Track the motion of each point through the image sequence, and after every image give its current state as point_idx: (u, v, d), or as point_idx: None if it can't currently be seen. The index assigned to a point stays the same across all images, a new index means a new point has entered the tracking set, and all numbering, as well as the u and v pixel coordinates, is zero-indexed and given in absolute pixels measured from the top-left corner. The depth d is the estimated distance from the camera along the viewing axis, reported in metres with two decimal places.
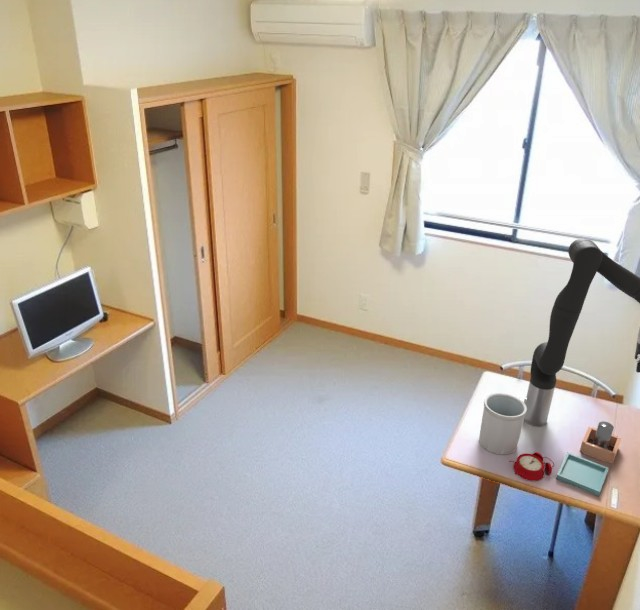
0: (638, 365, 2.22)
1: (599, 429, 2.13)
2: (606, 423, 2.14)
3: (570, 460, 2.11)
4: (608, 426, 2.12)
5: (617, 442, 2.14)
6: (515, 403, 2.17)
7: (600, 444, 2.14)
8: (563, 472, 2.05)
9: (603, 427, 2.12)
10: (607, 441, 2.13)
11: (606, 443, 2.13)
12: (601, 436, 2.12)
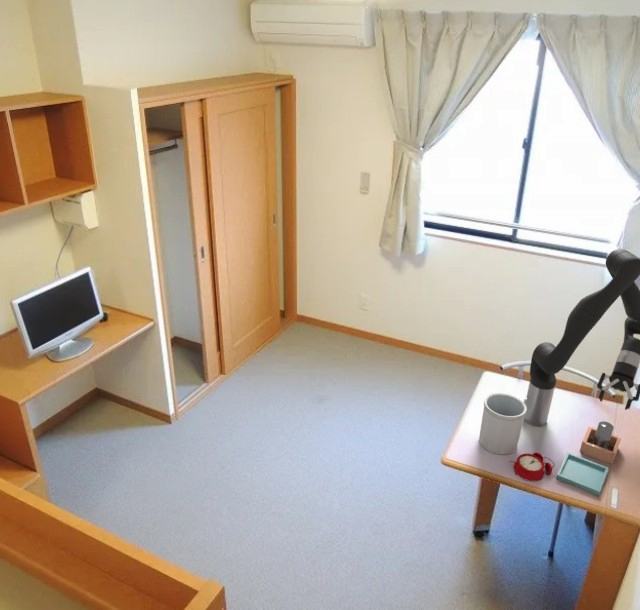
0: (604, 393, 2.18)
1: (599, 429, 2.13)
2: (606, 423, 2.14)
3: (570, 460, 2.11)
4: (608, 426, 2.12)
5: (617, 442, 2.14)
6: (515, 403, 2.17)
7: (600, 444, 2.14)
8: (563, 472, 2.05)
9: (603, 427, 2.12)
10: (607, 441, 2.13)
11: (606, 443, 2.13)
12: (601, 436, 2.12)
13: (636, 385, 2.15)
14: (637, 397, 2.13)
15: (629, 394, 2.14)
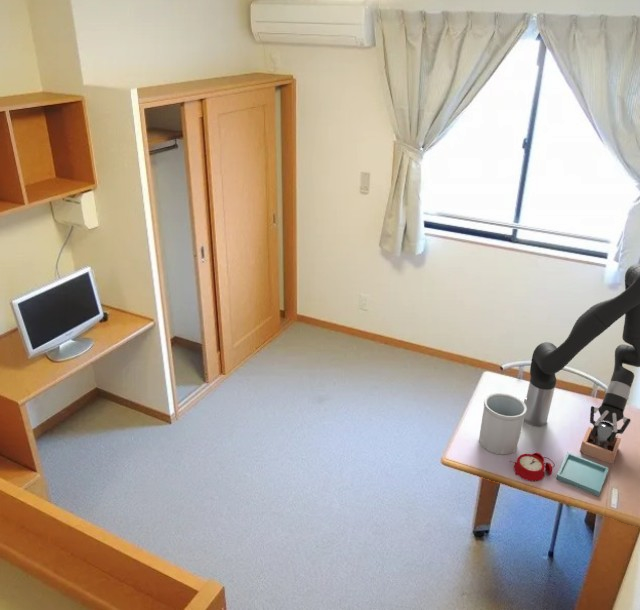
0: None
1: (599, 429, 2.12)
2: (606, 423, 2.14)
3: (570, 460, 2.11)
4: (608, 426, 2.12)
5: (617, 442, 2.14)
6: (515, 403, 2.17)
7: (600, 444, 2.14)
8: (563, 472, 2.05)
9: (603, 427, 2.12)
10: (607, 441, 2.13)
11: (606, 443, 2.13)
12: (601, 436, 2.12)
13: (625, 418, 2.12)
14: (621, 430, 2.11)
15: (614, 427, 2.12)
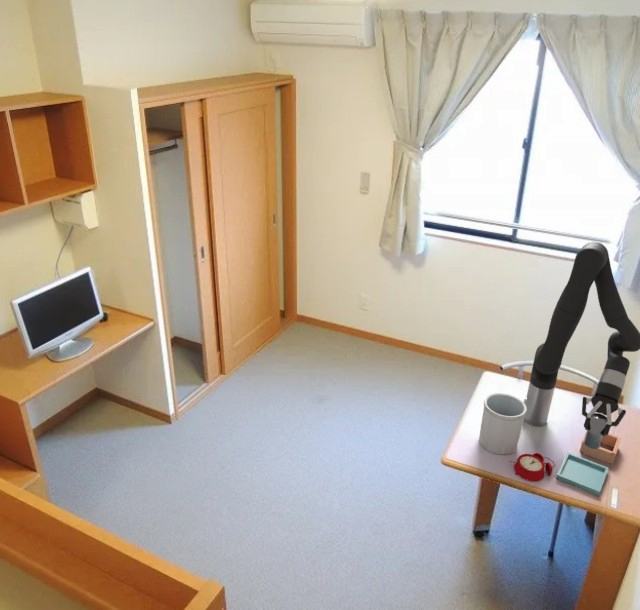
0: None
1: (592, 421, 1.94)
2: (599, 415, 1.95)
3: (570, 460, 2.11)
4: (602, 418, 1.94)
5: (617, 442, 2.14)
6: (515, 403, 2.17)
7: (593, 437, 1.95)
8: (563, 472, 2.05)
9: (597, 419, 1.93)
10: (601, 434, 1.94)
11: (600, 437, 1.95)
12: (594, 429, 1.94)
13: (620, 410, 1.94)
14: (616, 422, 1.93)
15: (609, 419, 1.94)
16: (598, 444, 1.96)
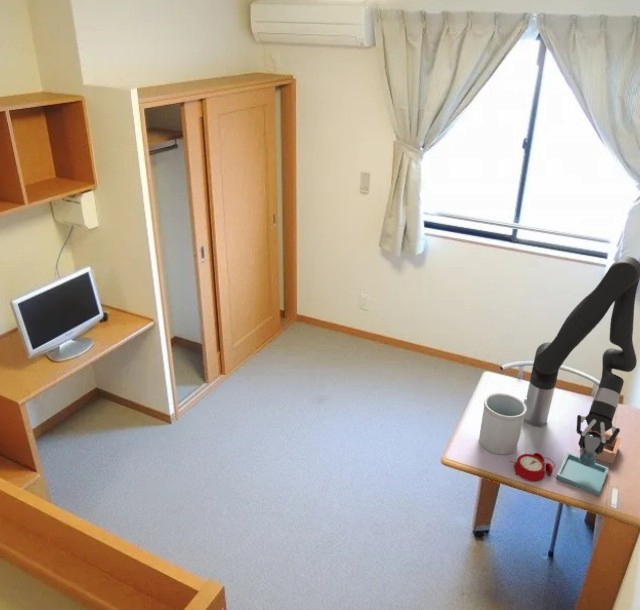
0: (584, 438, 1.99)
1: (586, 440, 1.97)
2: (594, 433, 1.99)
3: (570, 460, 2.11)
4: (596, 436, 1.97)
5: (617, 442, 2.14)
6: (515, 403, 2.17)
7: (587, 455, 1.98)
8: (563, 472, 2.05)
9: (591, 437, 1.97)
10: (595, 453, 1.98)
11: (594, 455, 1.98)
12: (588, 447, 1.97)
13: (614, 428, 1.97)
14: (610, 441, 1.96)
15: (603, 437, 1.97)
16: (593, 462, 1.99)
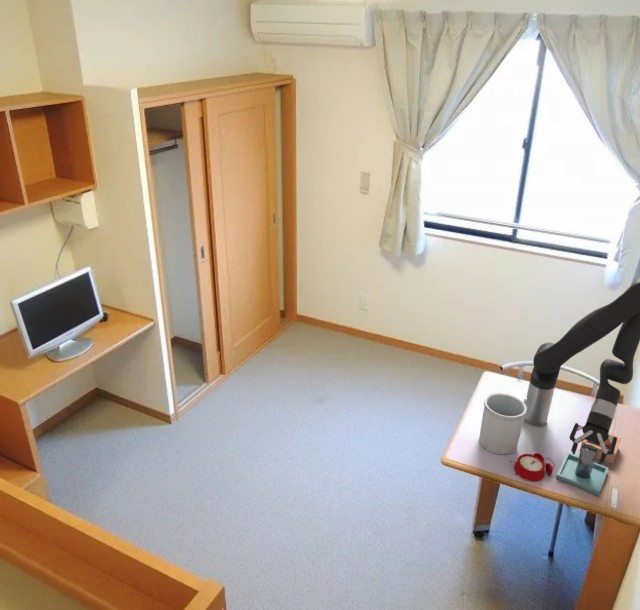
0: (577, 445, 2.02)
1: (582, 453, 2.00)
2: (590, 446, 2.01)
3: (570, 460, 2.11)
4: (592, 449, 2.00)
5: (617, 442, 2.14)
6: (515, 403, 2.17)
7: (583, 468, 2.01)
8: (563, 472, 2.05)
9: (587, 450, 1.99)
10: (591, 465, 2.00)
11: (590, 467, 2.01)
12: (584, 460, 2.00)
13: (611, 438, 1.99)
14: (612, 451, 1.97)
15: (603, 448, 1.99)
16: (588, 474, 2.02)
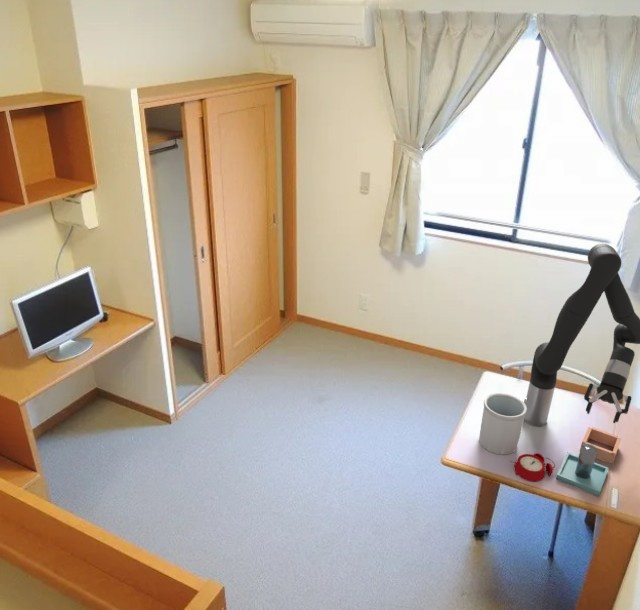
0: (591, 404, 2.06)
1: (582, 452, 2.00)
2: (589, 445, 2.01)
3: (570, 460, 2.11)
4: (591, 449, 2.00)
5: (617, 442, 2.14)
6: (515, 403, 2.17)
7: (583, 467, 2.01)
8: (563, 472, 2.05)
9: (586, 450, 1.99)
10: (591, 465, 2.00)
11: (590, 467, 2.01)
12: (584, 459, 2.00)
13: (625, 397, 2.03)
14: (626, 410, 2.00)
15: (618, 406, 2.02)
16: (588, 474, 2.02)
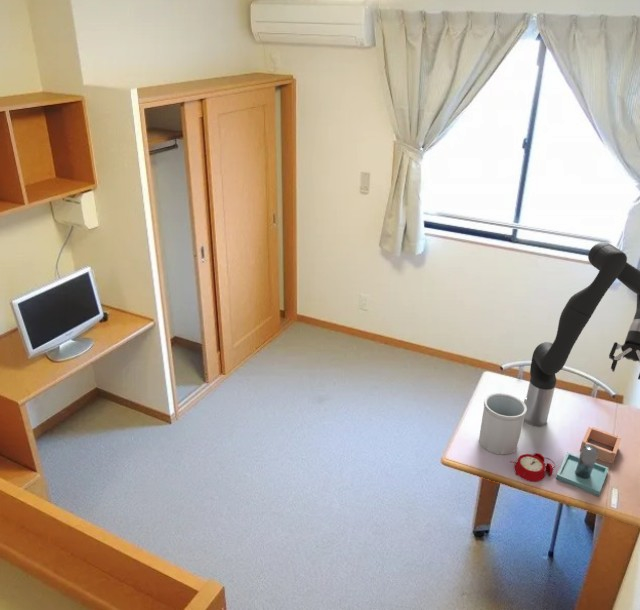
0: (616, 362, 2.12)
1: (584, 453, 2.00)
2: (591, 446, 2.01)
3: (570, 460, 2.11)
4: (593, 449, 2.00)
5: (617, 442, 2.14)
6: (515, 403, 2.17)
7: (584, 468, 2.01)
8: (563, 472, 2.05)
9: (588, 450, 1.99)
10: (592, 465, 2.00)
11: (591, 467, 2.01)
12: (586, 460, 2.00)
13: None
14: None
15: None
16: (589, 474, 2.02)
